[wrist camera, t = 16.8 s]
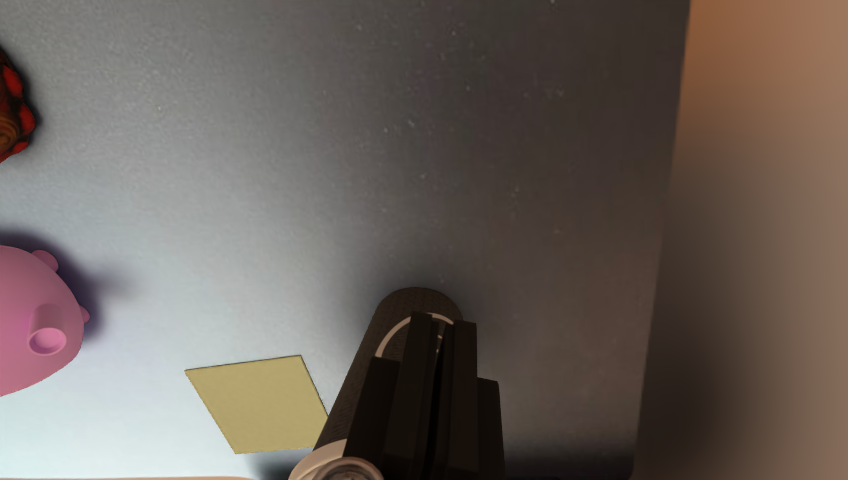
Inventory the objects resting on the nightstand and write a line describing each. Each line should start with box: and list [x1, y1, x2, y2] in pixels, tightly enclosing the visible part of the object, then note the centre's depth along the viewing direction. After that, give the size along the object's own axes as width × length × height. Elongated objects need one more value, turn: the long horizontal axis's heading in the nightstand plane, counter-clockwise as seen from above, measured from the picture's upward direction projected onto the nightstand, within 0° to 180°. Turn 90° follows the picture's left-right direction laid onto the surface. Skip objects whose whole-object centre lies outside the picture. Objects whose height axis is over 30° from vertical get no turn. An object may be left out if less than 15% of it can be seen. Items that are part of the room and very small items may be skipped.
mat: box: [184, 355, 328, 454], centre depth 35 cm, size 10×10×1 cm
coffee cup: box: [288, 288, 463, 480], centre depth 24 cm, size 10×10×15 cm
